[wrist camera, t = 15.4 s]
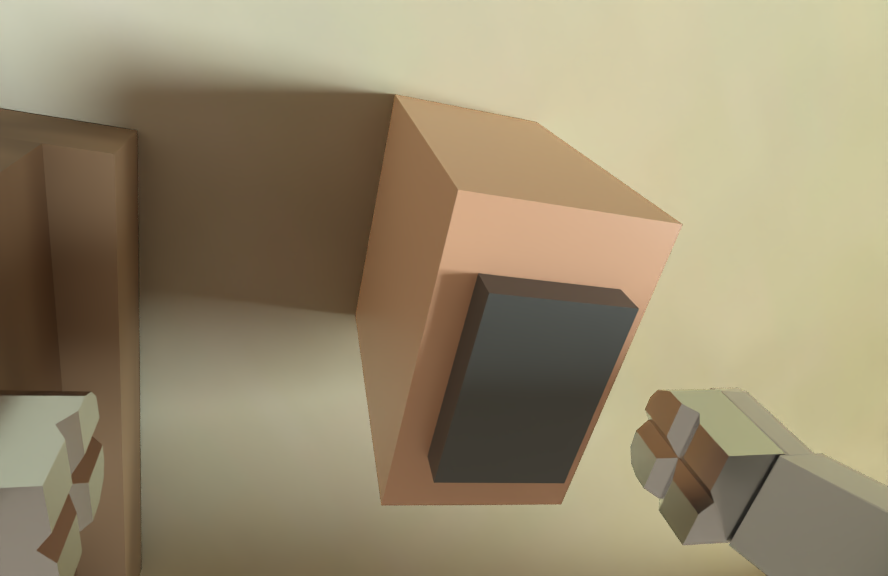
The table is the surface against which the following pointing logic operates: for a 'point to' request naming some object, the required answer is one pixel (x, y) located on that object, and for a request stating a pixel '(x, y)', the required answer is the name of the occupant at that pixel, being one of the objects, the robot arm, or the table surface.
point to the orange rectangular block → (495, 305)
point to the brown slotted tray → (77, 299)
